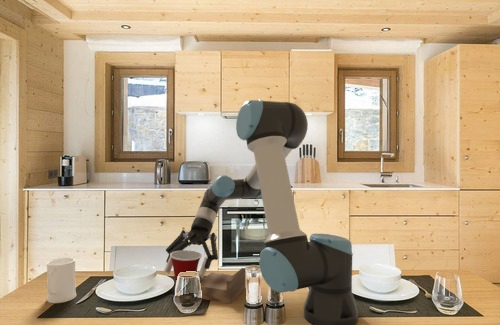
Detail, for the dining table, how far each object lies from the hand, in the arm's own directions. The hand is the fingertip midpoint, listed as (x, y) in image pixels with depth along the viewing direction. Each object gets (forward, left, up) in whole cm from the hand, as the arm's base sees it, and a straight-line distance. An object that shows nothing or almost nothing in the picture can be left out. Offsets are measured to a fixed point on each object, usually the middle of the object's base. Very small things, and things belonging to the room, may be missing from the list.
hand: (183, 274), depth 124 cm
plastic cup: (0, -2, -5) cm, 6 cm away
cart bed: (-13, -2, -5) cm, 14 cm away
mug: (+33, +21, -5) cm, 40 cm away
